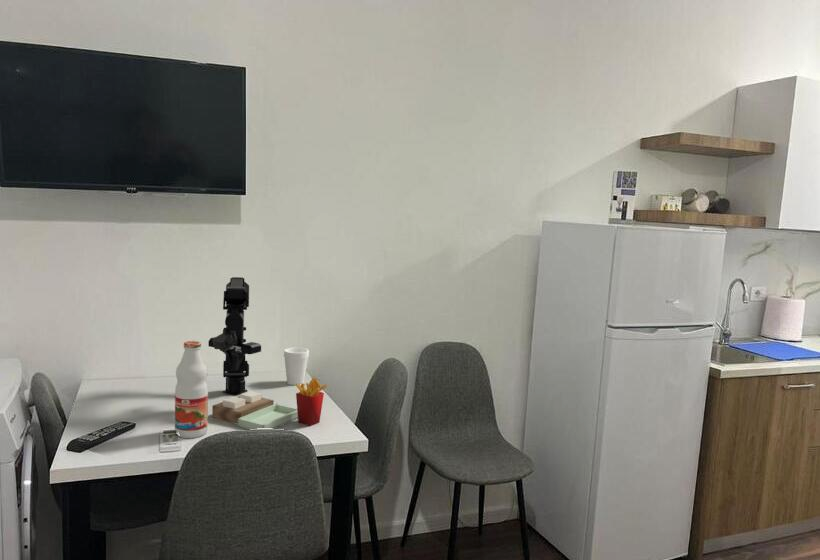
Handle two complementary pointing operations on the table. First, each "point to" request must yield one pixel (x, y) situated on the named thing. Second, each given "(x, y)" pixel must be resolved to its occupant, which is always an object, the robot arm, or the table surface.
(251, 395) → the tile
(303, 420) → the french fries
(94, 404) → the table surface
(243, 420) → the tray
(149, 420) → the table surface
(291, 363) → the foam cup
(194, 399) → the fruit juice
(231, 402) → the tile
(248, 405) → the board
